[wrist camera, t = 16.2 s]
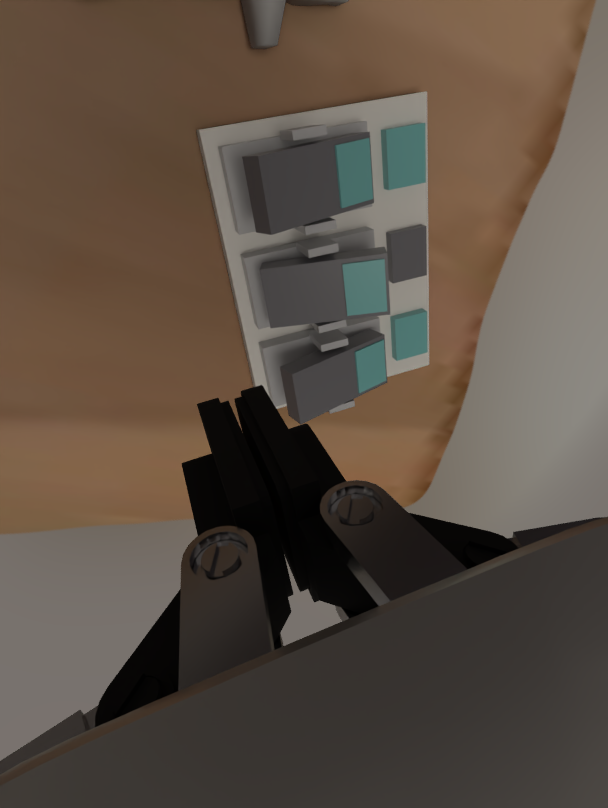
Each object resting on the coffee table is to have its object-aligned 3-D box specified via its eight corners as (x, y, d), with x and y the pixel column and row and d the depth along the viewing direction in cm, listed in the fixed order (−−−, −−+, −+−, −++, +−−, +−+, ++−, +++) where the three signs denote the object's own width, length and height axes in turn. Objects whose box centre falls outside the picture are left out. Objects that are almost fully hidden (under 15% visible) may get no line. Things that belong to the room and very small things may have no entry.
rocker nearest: (242, 156, 26) (259, 155, 25) (351, 133, 30) (371, 131, 29) (256, 232, 29) (272, 235, 27) (357, 201, 32) (375, 203, 31)
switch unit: (195, 130, 30) (208, 129, 26) (415, 92, 33) (461, 86, 28) (257, 404, 40) (273, 438, 36) (420, 358, 43) (454, 384, 39)
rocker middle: (262, 262, 32) (259, 270, 31) (384, 246, 31) (387, 253, 30) (272, 319, 34) (270, 329, 33) (387, 305, 33) (390, 315, 32)
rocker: (279, 366, 33) (293, 375, 32) (370, 328, 37) (385, 335, 35) (288, 415, 36) (301, 425, 34) (373, 375, 39) (388, 382, 38)
